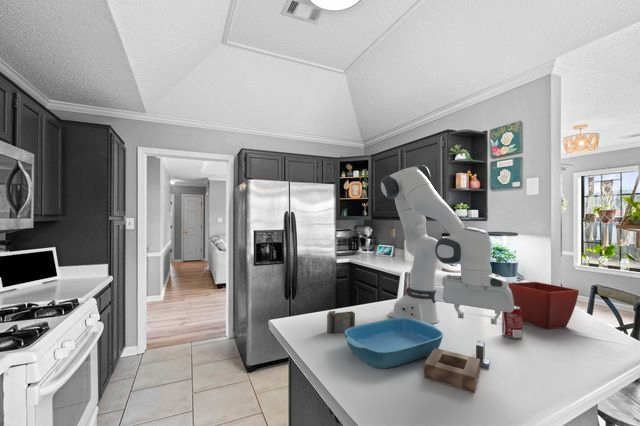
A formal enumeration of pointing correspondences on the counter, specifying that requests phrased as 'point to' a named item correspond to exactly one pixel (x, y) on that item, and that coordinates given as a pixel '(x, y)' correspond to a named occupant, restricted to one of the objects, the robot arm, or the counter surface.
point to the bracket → (481, 354)
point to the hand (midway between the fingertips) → (476, 320)
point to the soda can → (512, 323)
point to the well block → (453, 369)
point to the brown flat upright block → (340, 321)
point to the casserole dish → (393, 341)
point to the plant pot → (544, 303)
